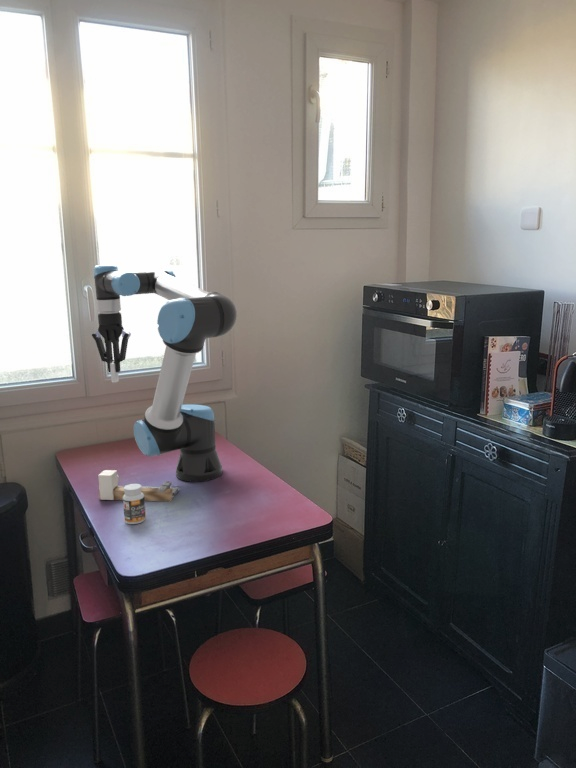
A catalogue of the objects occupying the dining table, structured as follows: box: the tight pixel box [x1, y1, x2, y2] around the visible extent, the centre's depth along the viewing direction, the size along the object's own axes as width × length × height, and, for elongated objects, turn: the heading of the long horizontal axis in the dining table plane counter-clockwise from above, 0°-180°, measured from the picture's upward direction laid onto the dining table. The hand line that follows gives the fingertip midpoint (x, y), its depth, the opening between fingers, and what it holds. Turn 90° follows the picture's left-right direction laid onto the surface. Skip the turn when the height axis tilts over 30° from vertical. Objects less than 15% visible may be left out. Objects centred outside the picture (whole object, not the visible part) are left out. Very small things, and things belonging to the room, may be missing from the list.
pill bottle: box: [122, 483, 147, 525], centre depth 171 cm, size 6×6×10 cm
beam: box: [98, 487, 174, 502], centre depth 187 cm, size 22×2×3 cm, turn 83°
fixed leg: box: [157, 480, 172, 492], centre depth 187 cm, size 2×7×2 cm, turn 173°
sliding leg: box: [97, 469, 120, 501], centre depth 189 cm, size 4×8×8 cm, turn 173°
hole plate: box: [118, 485, 180, 497], centre depth 192 cm, size 22×4×1 cm, turn 83°
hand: (115, 381), depth 212 cm, fingers closed
